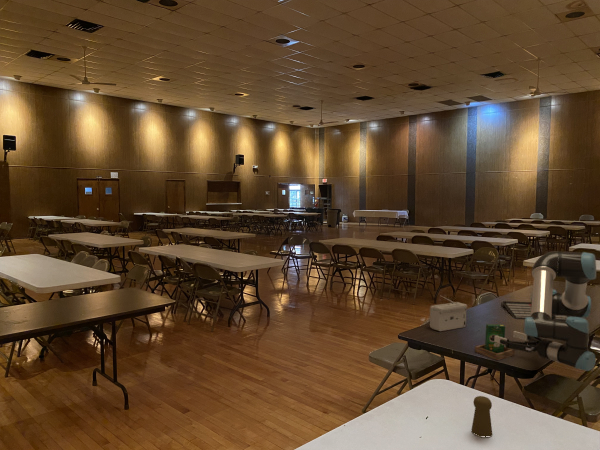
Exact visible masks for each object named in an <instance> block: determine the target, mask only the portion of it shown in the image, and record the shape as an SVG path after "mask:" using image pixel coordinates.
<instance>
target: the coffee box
mask: <svg viewBox="0 0 600 450" xmlns="http://www.w3.org/2000/svg"><path fill="white" fill-rule="evenodd" d="M495 336H499V337H502V338H505V339H506V337H505V336H506V326H505V325H504V324H496V323H495V324H494V323H486V324H485V339H484V340H485V342H484V344H485V349H486V350H488V351H491V352H494V353H501V352H504V347H505V345H503V344H500V343H497V342H494V338H495Z"/></svg>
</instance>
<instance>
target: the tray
mask: <svg viewBox="0 0 600 450" xmlns="http://www.w3.org/2000/svg"><path fill="white" fill-rule="evenodd" d="M474 353H477V354H479V355H481V356H484V357H488V358H490V359H493V360H497V361H501V360H503V359H507V358H510V357H513V356H515V349H510V348H506V346H504V352H501V353H494V352H491V351H488V350H486V349H485V343H484V344H481V345H477V346H474Z"/></svg>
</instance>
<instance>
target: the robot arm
mask: <svg viewBox="0 0 600 450" xmlns="http://www.w3.org/2000/svg"><path fill="white" fill-rule="evenodd" d="M531 276H532V278H533V285H532V286H533V287H532V292H531V298H530V300H531V301H530V302H531V317H526V318H525V319H524V326H523V330H524V331H523V332H519V331H516V330H514V331H513V333H512V334H513V336H512V338H515V339H519V340H522V341H516V340H510V339H509V338H506V337H505V338H502V337H499V336H495V338H494V342H497V343H500V344H503V345H504V346H505V347H506V348H510V349H513V350H514V351H515V350H517V351H522V352H527V353H532V352H537V354H538V355H539V357H541V358H544V359H547V360H551V361H554V362H556V363H557V364H563V365H567V366H569V367H572V368H575V369H578V370H581V371H586V372H590V371H592V370H593V369H594V367H595V365H596V363H597V362H596V360H597V358H596V354H595V353H593V352H591V351H590V350H589V336H590V335H589V333H590V331H589V329H590V328H589V324H590V323H589V321H588V319H586V318H588V317H590V313H591V310H592V309H591V308H592V298H591V297H590V295H587V294H586V292H587V287H588V286H587V285H588V283H589V281H592V280H596V279H597V259H596V255H595V254H594V253H591V252H586V251H583V252H579V251H578V252H577V251H561V250H560V251H559V250H554V251H547V252H545V253H544V254H542V255H541V256H539V257H538V258H537V259H536V261H535V262H534V264H533V266H532V269H531ZM556 277H558V278H559V277H560V278H564V279H565V289H564V292H558V291H557V290H556V289H554V288H553V287H554V280H555V279H556ZM556 315H563V316H570V317H567V318H566V321H557V320H556ZM553 340H555V341H553ZM556 340H557V341H563V342H564V343H565V344H564V343H561V342H557V341H556Z"/></svg>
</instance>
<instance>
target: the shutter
mask: <svg viewBox="0 0 600 450" xmlns="http://www.w3.org/2000/svg"><path fill="white" fill-rule="evenodd" d="M500 307H501V309H502V308H503V309H504V308H505V309H507V311H508V313H509V314H510V315H511V317H512V318H513V317H514V318H513V319H514V320H525V318H526V317H531V301H508V300H507V301H506V300H505V301H504V300H503V301H502V302H500ZM567 317H571V316H563V315H556V320H557V321H565V322H566V318H567Z"/></svg>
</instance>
